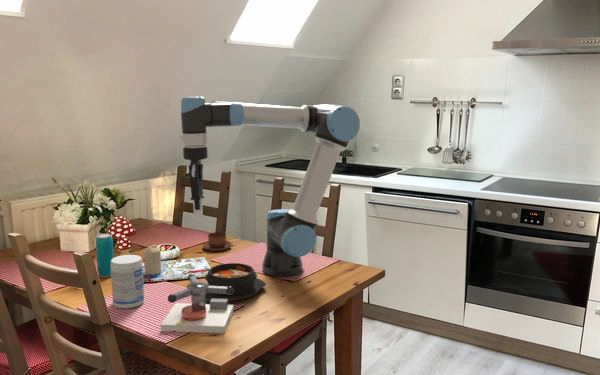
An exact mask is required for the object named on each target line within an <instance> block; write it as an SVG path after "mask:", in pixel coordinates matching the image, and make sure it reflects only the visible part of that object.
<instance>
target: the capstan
mask: <svg viewBox="0 0 600 375" xmlns="http://www.w3.org/2000/svg"><path fill="white" fill-rule="evenodd" d="M187 280H188V281H189V283H188V284H187V285H186V289H182V290H180V291H177V292H174V293H170V294H168V296H167V302H169V303H170V304H173V303H174V304H175V303H176V302H177V301H180V300H182V299H185V298H188V297H190V296H191V298H190V299H191V303H190V304H192V305H189V306H186V307H184V308H183V309H182V318H183V319H185V320H190V321H194V320H200V319H202V318H204V317H205V316H206V306H205V304H206V301H205V294H207V293H219V294H228V295H231V294H233V293H234V288H233V287H231V286H229V287H225V286H209V284H208V282H207V281H198V279H197V277H196V275H195V274H194V273H190V274H188V276H187Z"/></svg>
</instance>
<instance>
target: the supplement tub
mask: <svg viewBox="0 0 600 375" xmlns="http://www.w3.org/2000/svg"><path fill="white" fill-rule="evenodd" d="M143 268H144V267H143V259H142V256H140V255H137V254H123V255H118V256H114V258H113V259H112V260H111V277H110V280H111V290H112V291H111V293H112V294H111V295H112V303H113V306H114V307H115V308H118V309H133V308H137V307H139V306H141V305H142V304H143V303H144V302H145V290H144V289H145V286H144V269H143Z"/></svg>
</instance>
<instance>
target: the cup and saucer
mask: <svg viewBox="0 0 600 375" xmlns="http://www.w3.org/2000/svg"><path fill="white" fill-rule="evenodd" d="M207 237H208V241H205V242H203V244H202V247H203V248H204V249H205V250H208V251H212V252H213V251H215V252H219V251H224V250H229V248H231V247H232V242H231V241H228V240H227V234H226V233H225V232H220V231H218V232H217V231H216V232H211V233H208V235H207Z"/></svg>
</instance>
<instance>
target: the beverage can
mask: <svg viewBox="0 0 600 375" xmlns="http://www.w3.org/2000/svg"><path fill="white" fill-rule="evenodd" d="M112 236H113V235H112V234H111V233H100V234H97V235H96V239H95V249H96V250H95V251H96V266H97V274H98V275H99V277H100V278H103V279H104V278H105V279H106V278H111V260H112V259H113V258H115V253H114V238H113V237H112Z"/></svg>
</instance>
